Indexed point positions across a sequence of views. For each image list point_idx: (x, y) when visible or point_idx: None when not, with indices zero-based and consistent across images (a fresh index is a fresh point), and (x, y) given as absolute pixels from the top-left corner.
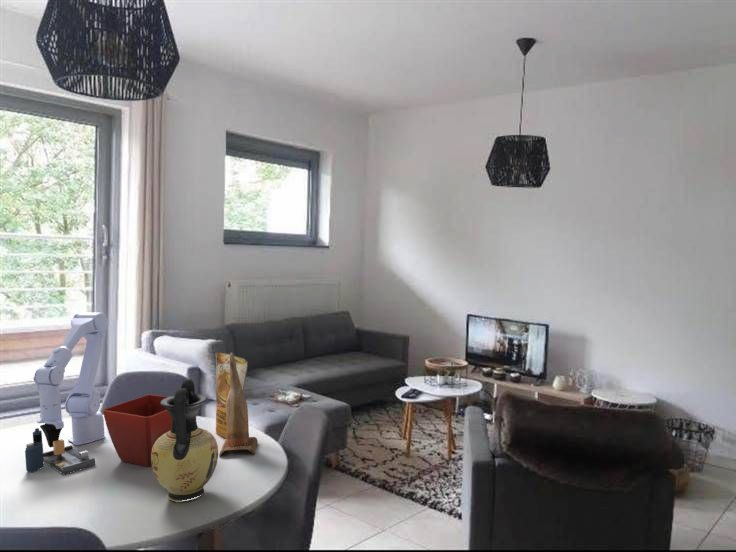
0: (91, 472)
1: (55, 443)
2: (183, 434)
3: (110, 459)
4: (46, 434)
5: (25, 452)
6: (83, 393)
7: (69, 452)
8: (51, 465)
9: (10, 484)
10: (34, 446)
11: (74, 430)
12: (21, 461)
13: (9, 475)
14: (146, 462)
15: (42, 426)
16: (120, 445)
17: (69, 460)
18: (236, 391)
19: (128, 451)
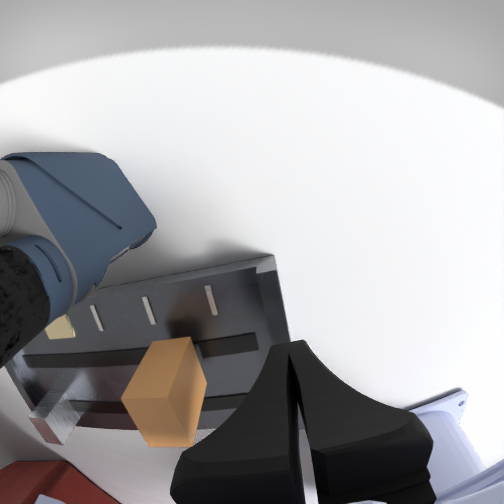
0: (3, 378)
1: (124, 396)
2: None
3: (95, 456)
4: (275, 408)
5: (9, 157)
6: None
7: (219, 400)
8: (109, 288)
9: (8, 95)
10: (6, 240)
11: (428, 463)
12: (341, 139)
13: (116, 68)
14: (8, 466)
15: (348, 460)
16: (16, 490)
17: (92, 370)
18: None
19: (15, 480)
